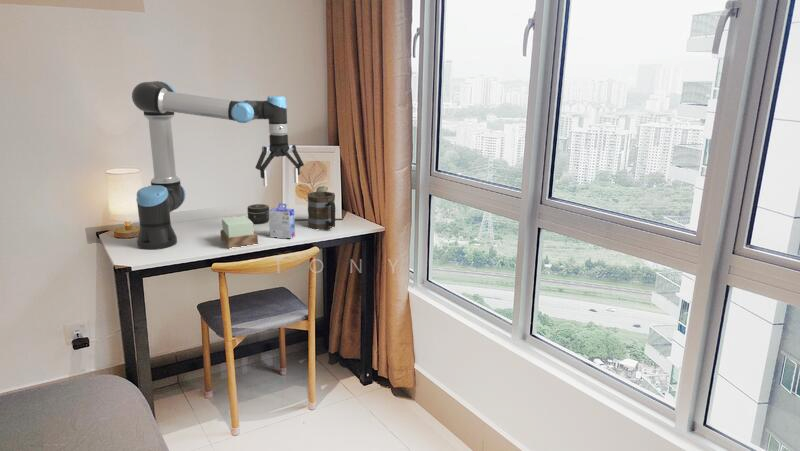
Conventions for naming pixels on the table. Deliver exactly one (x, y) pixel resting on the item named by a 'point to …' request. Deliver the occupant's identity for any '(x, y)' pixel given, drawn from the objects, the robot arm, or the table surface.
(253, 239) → the walnut base block
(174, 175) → the robot arm
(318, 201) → the mug
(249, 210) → the jar
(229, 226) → the sage top block
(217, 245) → the table surface
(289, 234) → the ink cartridge box
